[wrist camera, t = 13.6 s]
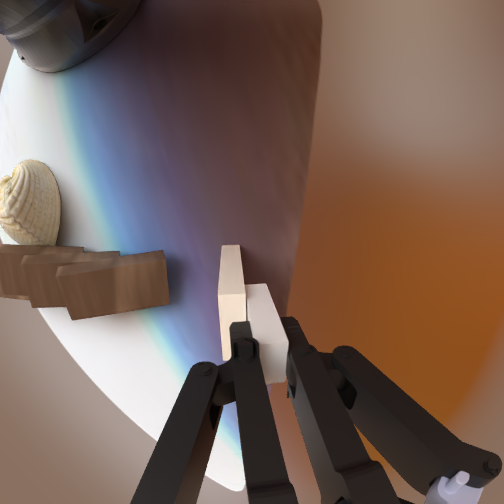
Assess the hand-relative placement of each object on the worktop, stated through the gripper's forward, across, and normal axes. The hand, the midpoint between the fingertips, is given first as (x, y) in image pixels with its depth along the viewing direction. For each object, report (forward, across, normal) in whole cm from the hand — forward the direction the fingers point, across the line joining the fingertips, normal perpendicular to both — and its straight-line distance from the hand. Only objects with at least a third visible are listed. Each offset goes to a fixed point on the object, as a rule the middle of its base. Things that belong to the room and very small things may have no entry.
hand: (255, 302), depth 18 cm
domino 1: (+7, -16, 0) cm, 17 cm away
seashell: (+8, -22, +8) cm, 25 cm away
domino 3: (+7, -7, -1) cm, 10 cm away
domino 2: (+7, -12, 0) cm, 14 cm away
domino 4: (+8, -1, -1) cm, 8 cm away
